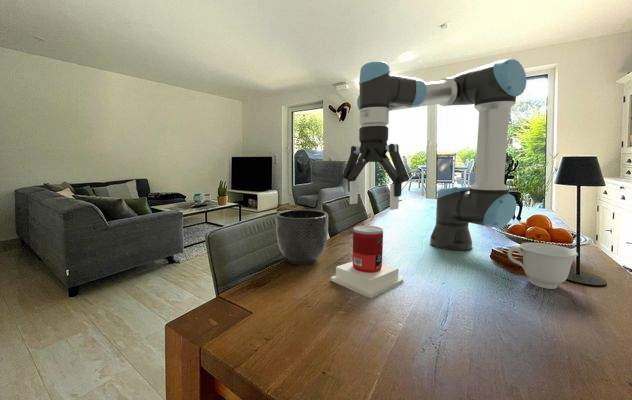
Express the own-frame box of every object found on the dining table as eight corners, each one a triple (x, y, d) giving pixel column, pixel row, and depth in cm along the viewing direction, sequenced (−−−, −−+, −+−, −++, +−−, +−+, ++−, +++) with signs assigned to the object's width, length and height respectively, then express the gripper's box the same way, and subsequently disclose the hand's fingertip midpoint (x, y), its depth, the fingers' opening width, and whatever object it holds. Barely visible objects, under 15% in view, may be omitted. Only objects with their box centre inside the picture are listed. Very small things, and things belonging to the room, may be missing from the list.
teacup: (499, 272, 85) (501, 239, 84) (559, 278, 81) (563, 244, 80) (513, 289, 74) (516, 252, 73) (584, 297, 69) (589, 258, 68)
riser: (363, 268, 89) (363, 256, 88) (403, 282, 78) (403, 268, 78) (330, 280, 80) (330, 266, 79) (370, 298, 69) (371, 282, 69)
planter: (338, 264, 92) (338, 215, 90) (289, 274, 84) (288, 220, 82) (312, 250, 107) (312, 208, 105) (268, 257, 99) (267, 211, 97)
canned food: (382, 274, 74) (383, 232, 72) (351, 271, 75) (351, 231, 74) (381, 263, 81) (382, 226, 80) (353, 262, 83) (354, 224, 81)
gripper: (330, 129, 82) (330, 202, 85) (408, 119, 63) (405, 214, 66) (348, 131, 87) (348, 200, 90) (425, 122, 68) (422, 210, 71)
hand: (372, 206), depth 78 cm, fingers open, 13 cm apart
